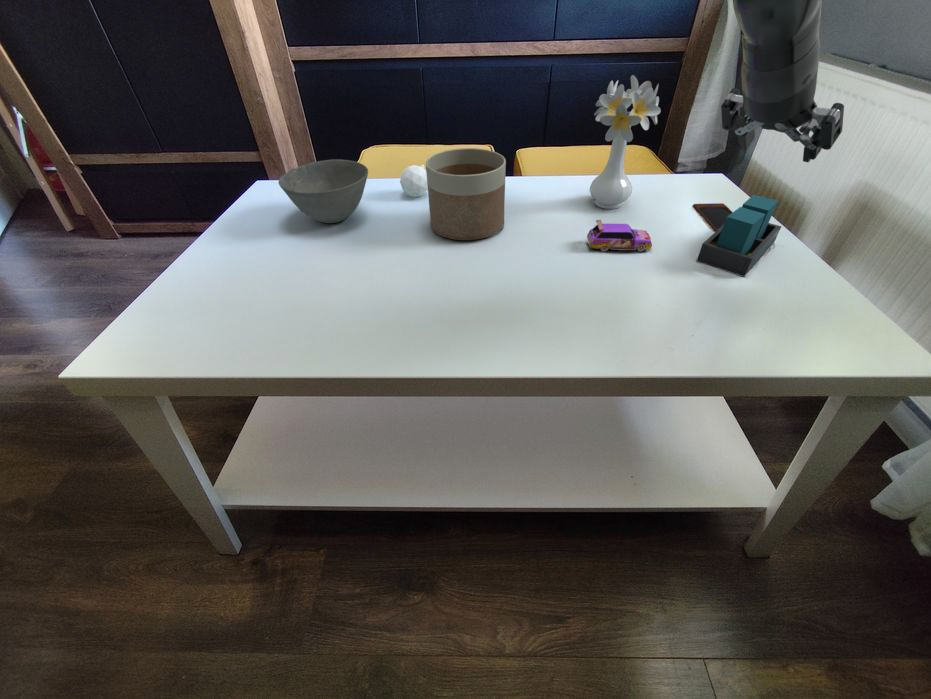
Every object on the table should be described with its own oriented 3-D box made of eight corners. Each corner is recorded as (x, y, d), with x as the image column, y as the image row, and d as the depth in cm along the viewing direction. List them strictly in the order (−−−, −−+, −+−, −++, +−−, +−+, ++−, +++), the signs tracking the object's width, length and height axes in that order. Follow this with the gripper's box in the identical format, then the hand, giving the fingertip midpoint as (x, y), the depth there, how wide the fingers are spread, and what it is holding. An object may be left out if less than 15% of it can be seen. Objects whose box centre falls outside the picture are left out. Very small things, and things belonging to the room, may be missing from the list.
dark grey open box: (773, 243, 89) (781, 226, 87) (744, 276, 80) (752, 259, 78) (728, 230, 94) (735, 213, 91) (696, 260, 85) (702, 243, 83)
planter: (427, 213, 103) (422, 151, 94) (495, 207, 105) (496, 145, 96) (435, 246, 92) (430, 178, 83) (511, 238, 93) (514, 171, 84)
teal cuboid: (761, 239, 89) (778, 200, 84) (751, 250, 86) (768, 210, 81) (737, 233, 91) (753, 194, 86) (727, 243, 88) (742, 203, 83)
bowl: (333, 195, 113) (323, 154, 106) (391, 211, 105) (385, 167, 98) (273, 225, 101) (258, 180, 95) (333, 245, 93) (322, 198, 87)
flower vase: (580, 220, 99) (600, 92, 82) (581, 188, 112) (598, 71, 96) (642, 224, 97) (675, 93, 80) (635, 190, 110) (662, 72, 94)
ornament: (402, 189, 114) (417, 160, 112) (425, 204, 113) (441, 175, 111) (389, 184, 108) (405, 153, 105) (414, 201, 107) (430, 169, 104)
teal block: (748, 254, 85) (765, 213, 79) (735, 265, 82) (753, 224, 77) (724, 246, 87) (740, 206, 82) (711, 257, 84) (726, 216, 79)
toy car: (652, 253, 87) (658, 231, 84) (589, 252, 88) (593, 231, 85) (645, 239, 92) (651, 218, 89) (585, 239, 92) (589, 217, 89)
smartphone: (724, 202, 103) (755, 233, 91) (722, 206, 103) (753, 237, 92) (692, 203, 103) (719, 233, 92) (691, 207, 104) (717, 237, 92)
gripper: (868, 47, 49) (849, 136, 62) (736, 37, 57) (743, 117, 70) (826, 111, 50) (816, 185, 63) (702, 91, 58) (715, 161, 71)
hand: (777, 149), depth 67 cm, fingers open, 8 cm apart
